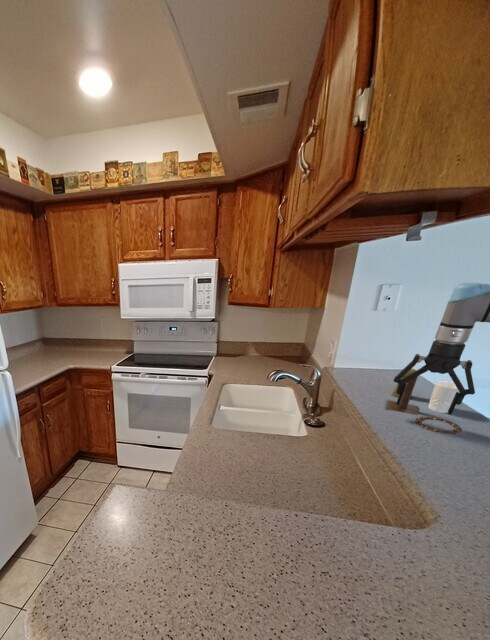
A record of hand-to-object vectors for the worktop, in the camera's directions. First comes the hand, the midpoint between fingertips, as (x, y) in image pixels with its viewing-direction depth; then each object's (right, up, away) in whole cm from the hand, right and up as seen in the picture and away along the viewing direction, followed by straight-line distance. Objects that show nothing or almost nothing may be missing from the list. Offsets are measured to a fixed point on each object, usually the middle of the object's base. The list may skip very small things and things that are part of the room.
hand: (422, 408), depth 105 cm
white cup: (+15, 0, +12) cm, 19 cm away
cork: (+11, +7, +25) cm, 28 cm away
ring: (+4, -6, 0) cm, 7 cm away
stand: (+2, 0, +12) cm, 13 cm away
